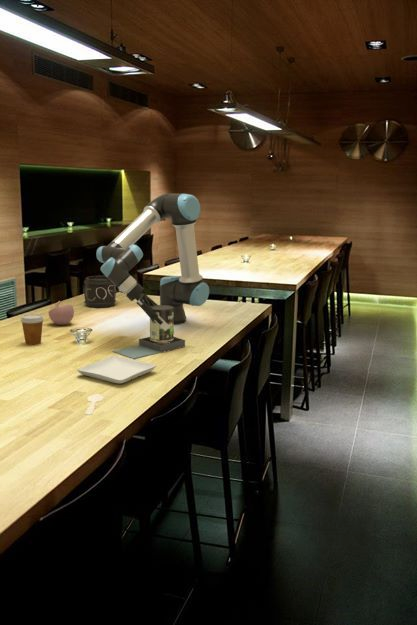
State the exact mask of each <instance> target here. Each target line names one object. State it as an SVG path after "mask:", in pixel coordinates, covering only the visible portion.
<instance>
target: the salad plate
mask: <svg viewBox="0 0 417 625" xmlns="http://www.w3.org/2000/svg"><path fill="white" fill-rule="evenodd" d="M156 367H157V365H156V364H153V363H149V362H144V361H141V360H137V359H132V358H129V357H125V356H119V355H111V356H109V357H105V358H103V359H100V360H98V361H95V362H93V363H89V364H87V365H84V366H82V367H79V368H77V369H76V371H77V372H78V373H79V374H81V375H83V376H85V377H90V378H94V379H98V380H101V381H105V382H109V383H114V384H124V383H127V382H129V381H131V379H132V380H134V379H136V378H139V377H140V376H143V375H145V374H148V373H150V372H151V371H153V370H154V369H155V368H156ZM138 376H139V377H138Z"/></svg>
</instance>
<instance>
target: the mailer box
mask: <svg viewBox="0 0 417 625" xmlns="http://www.w3.org/2000/svg"><path fill="white" fill-rule="evenodd" d="M173 338H174V339H173V340H172V341H169V342H170V343H169V342H167V343H164V344H159V343H157V342H154V341H151V340H150V336H147V337H143V338H139V339H138V344H137V345H133V346H129V347H124V348H118V349H116V350H112V353H113V354H114V353H115V354H117V355H121V356H122V357H125V358H129V359H133V360H137V359H139V358H144V357H148V356H152V355H157V354H160V352H161V353H165V352H168V350H169V351H172V349H173V350H176V348H178V349H180V348H179V347H182V348H184V347H183V346H185V347H186V340H185V339H183V338H179V337H175V336H174V337H173ZM164 351H165V352H164Z"/></svg>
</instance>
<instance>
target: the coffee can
mask: <svg viewBox="0 0 417 625" xmlns="http://www.w3.org/2000/svg"><path fill="white" fill-rule="evenodd" d="M151 307H152V309H153V310H154V311H155V312H156V314H157V315H158V316H160V317H161V318H162V319H163V320H164V321H165V322H166V323H167V324H168V325H169V326H170V327H169V328H168V329H167V330H166V331H165V330H164V329H163V328H162V327H161V326H159V325H158V324H157V323H156V322H155V321H151V318H150V317H149V337H150V340H151V341H154V342H156V343H169V341H172V340H173V339H174V338H173V337H175V336H174V324H173V322H174V307H173V306H170V305H160V304H157V305H154V306H151Z"/></svg>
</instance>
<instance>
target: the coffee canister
mask: <svg viewBox="0 0 417 625" xmlns="http://www.w3.org/2000/svg"><path fill="white" fill-rule="evenodd" d="M83 283H84V288H83V290H84V291H83V292H84V295H83V296H84V304H85V305H86V306H85V307H88V308H94V309H105V308H106V309H108V308H112V307H114V306H115V303H116V302H117V300H116V297H117V293H118V290H117V289H116V288H117V286H116V285H115V284H113V283H112V282H111V281H110V280H109V279H108V278H107V277H106V276H105V275H95V276H94V275H92V276H87V277H85V280H84V281H83Z"/></svg>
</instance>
